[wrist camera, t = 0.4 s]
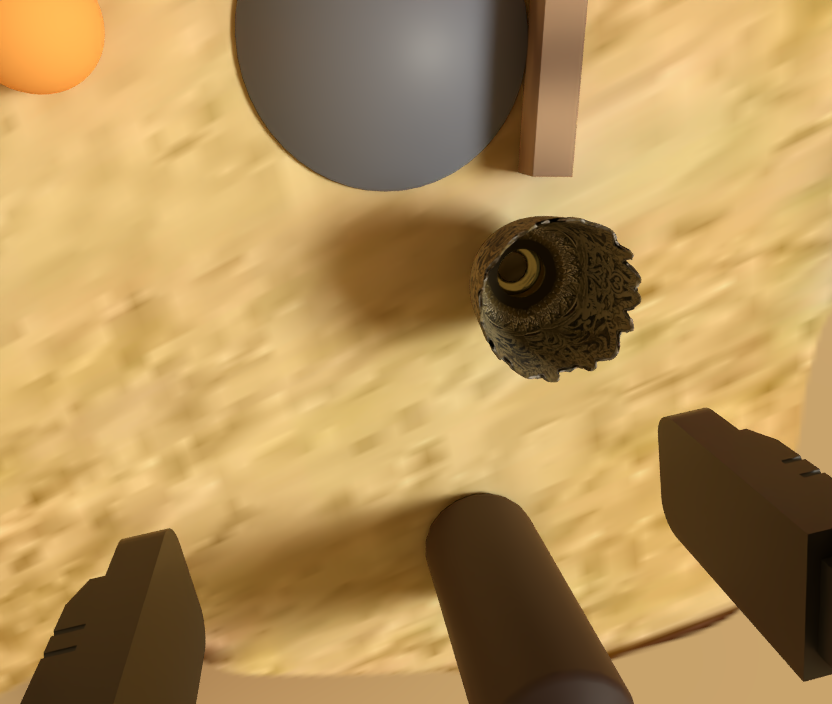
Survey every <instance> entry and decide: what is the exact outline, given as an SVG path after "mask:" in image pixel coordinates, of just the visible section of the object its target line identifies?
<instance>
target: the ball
mask: <svg viewBox="0 0 832 704" xmlns="http://www.w3.org/2000/svg"><path fill="white" fill-rule="evenodd" d="M104 36H105V34H104V23H103V17H102V14H101V10H100V7H99V5H98V2H97V0H0V84H2V85H5V86H7V87H9V88H12V89H14V90H17V91H21V92H25V93H30V94H53V93H58V92H62V91H65V90H68V89H70V88H72V87H74V86H76V85H78V84H79V83H81V82H82V81H83V80H84V79H85V78H87V77H88V76H89V75H90V73H91V72H92V71H93V70H94V68H95V67H96V65H97V63H98V61H99V59H100V56H101V54H102V50H103V46H104Z"/></svg>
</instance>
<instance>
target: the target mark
mask: <svg viewBox="0 0 832 704" xmlns="http://www.w3.org/2000/svg"><path fill="white" fill-rule="evenodd" d="M235 38H236V46H237V55H238V60H239V65H240V69H241V73H242V77H243V80H244V83H245V86H246V88H247V91H248V94H249V96H250V99H251V101H252V103H253V104H254V106H255V108H256V110H257V112H258V114H259V116H260V118H261V119H262V120H263V122H264V123H265V125H266V126H267V128H268V129H269V131H270V132H271V133H272V135H273V136H274V137H275V138H276V139H277V140H278V141H279V143H280V144H281V145H282V146H283V147H284V148H285V149H286V150H287V151H288V152H289V153H291V154H292V155H293V156H294V157H295V158H296V159H297V160H298V161H300V162H301V163H303V164H304V165H306V166H307V167H309V168H310V169H312V170H313V171H314V172H316V173H318V174H320V175H322V176H324V177H326V178H328V179H330V180H332V181H335V182H338V183H341V184H344V185H347V186H350V187H354V188H359V189H364V190H372V191H400V190H407V189H412V188H417V187H421V186H424V185H427V184H430V183H433V182H436V181H438V180H440V179H442V178H444V177H446V176H448V175H450V174H452V173H454V172H456V171H457V170H459V169H460V168H461V167H463V166H464V165H466V164H467V163H469V162H470V161H471V160H472V159H473V158H474V157H476V156H477V155H478V154H479V153H480V152H481V151H482V150H483V149H484V148H485V147H486V146H487V145H488V143H489V142H490V141H491V140H492V139H493V138H494V137H495V135H496V134H497V132H498V131H499V129H500V128H501V126H502V125H503V123H504V122H505V120H506V118H507V116H508V114H509V112H510V110H511V109H512V107H513V105H514V102H515V99H516V97H517V94H518V91H519V89H520V86H521V82H522V78H523V74H524V70H525V64H526V56H527V48H528V24H527V15H526V6H525V2H524V0H237V7H236V15H235Z"/></svg>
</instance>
